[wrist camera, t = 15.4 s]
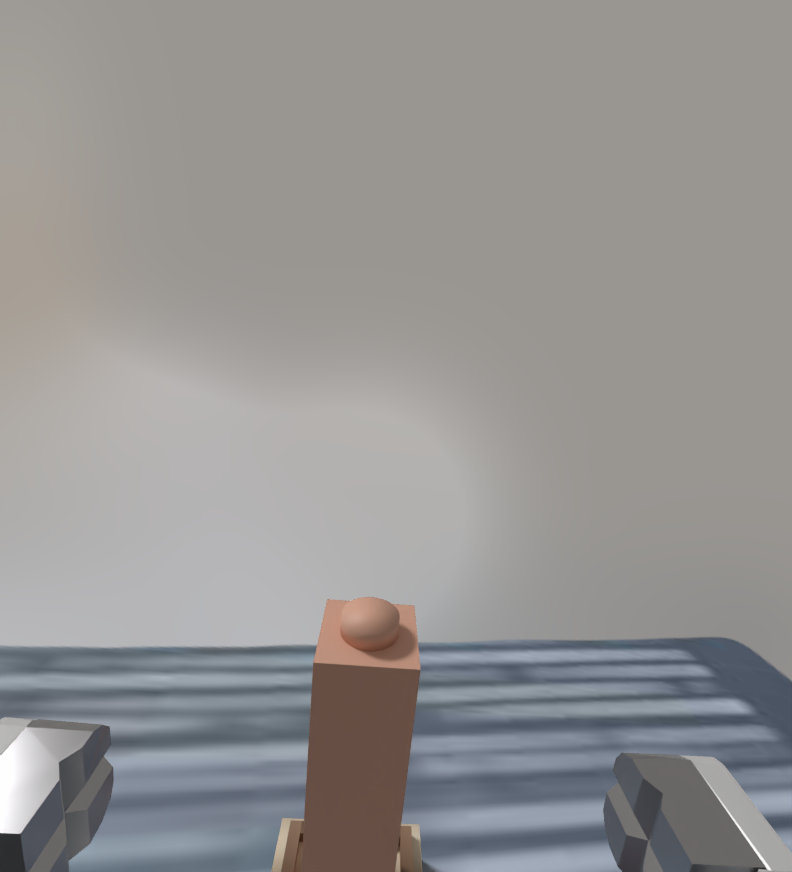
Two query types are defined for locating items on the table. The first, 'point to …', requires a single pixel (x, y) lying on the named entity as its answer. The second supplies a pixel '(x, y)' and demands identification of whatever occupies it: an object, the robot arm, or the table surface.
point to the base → (291, 848)
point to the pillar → (360, 735)
